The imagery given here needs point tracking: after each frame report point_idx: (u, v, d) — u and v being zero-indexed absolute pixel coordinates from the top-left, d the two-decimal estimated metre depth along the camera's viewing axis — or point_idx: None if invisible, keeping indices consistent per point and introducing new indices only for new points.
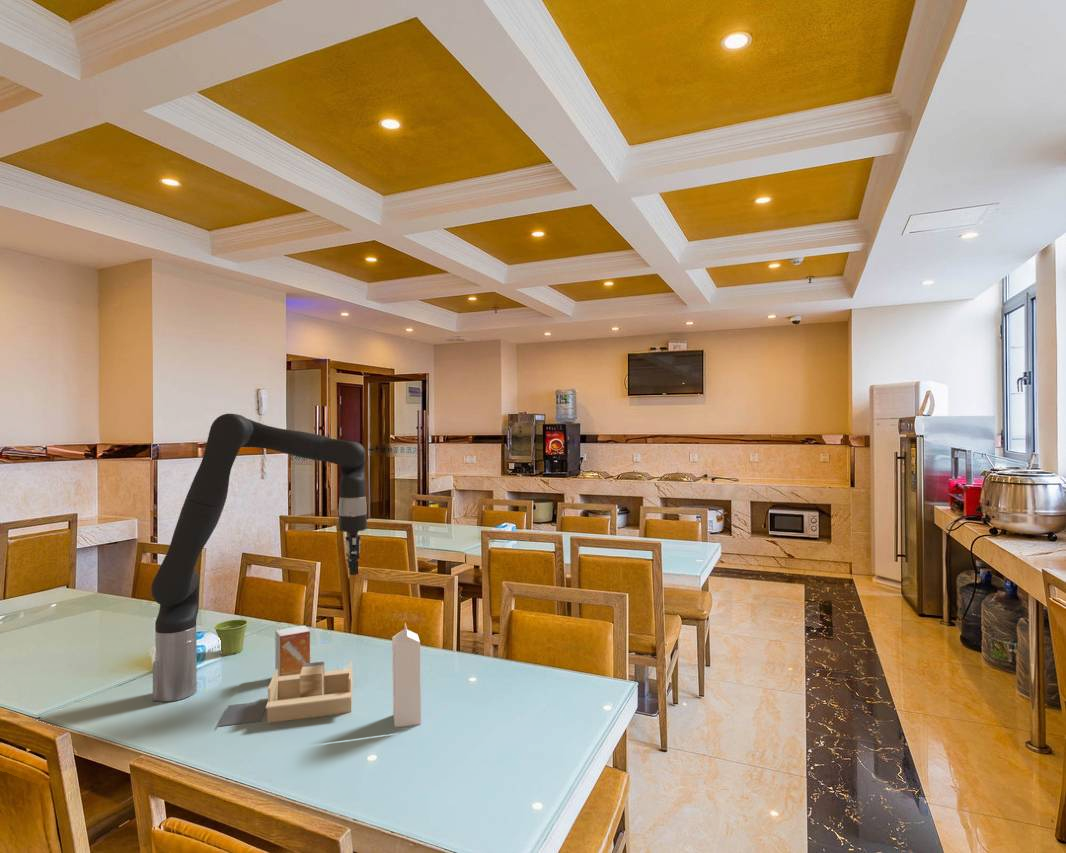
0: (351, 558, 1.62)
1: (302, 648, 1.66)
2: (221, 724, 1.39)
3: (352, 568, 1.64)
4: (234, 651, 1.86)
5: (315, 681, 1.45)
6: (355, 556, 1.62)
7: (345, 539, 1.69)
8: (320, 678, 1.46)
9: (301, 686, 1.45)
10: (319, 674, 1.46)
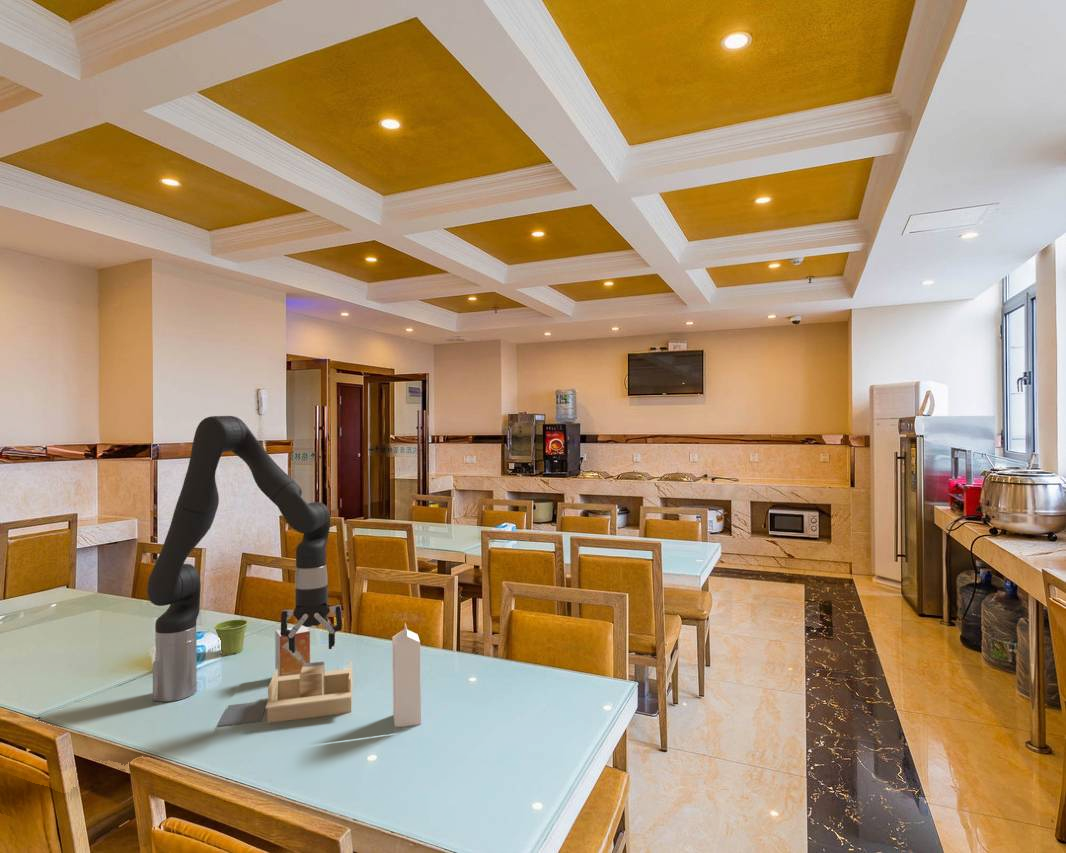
0: (341, 627, 1.50)
1: (302, 648, 1.66)
2: (221, 724, 1.39)
3: None
4: (234, 651, 1.86)
5: (315, 681, 1.45)
6: None
7: (305, 617, 1.47)
8: (320, 678, 1.46)
9: (301, 686, 1.45)
10: (319, 674, 1.46)
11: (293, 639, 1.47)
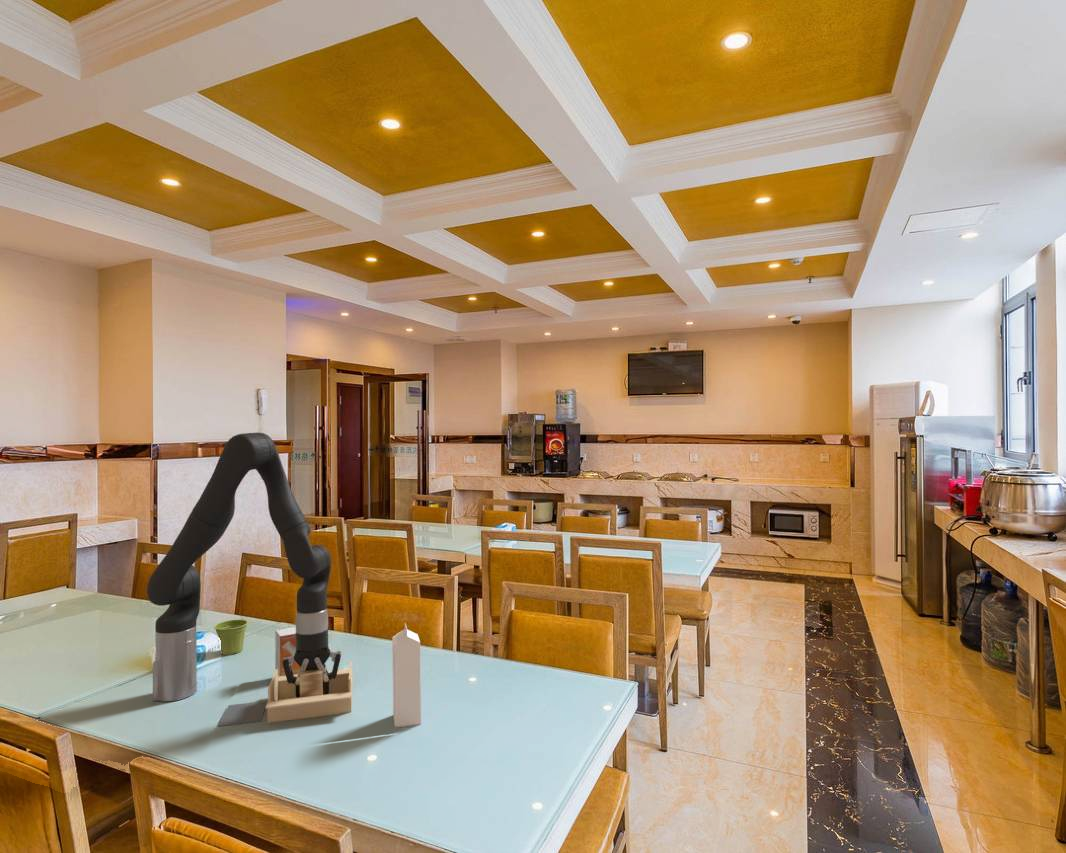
0: None
1: None
2: (221, 724, 1.39)
3: (328, 688, 1.50)
4: (234, 651, 1.86)
5: (315, 681, 1.45)
6: None
7: (306, 661, 1.47)
8: (320, 678, 1.46)
9: (301, 686, 1.45)
10: (319, 674, 1.46)
11: None
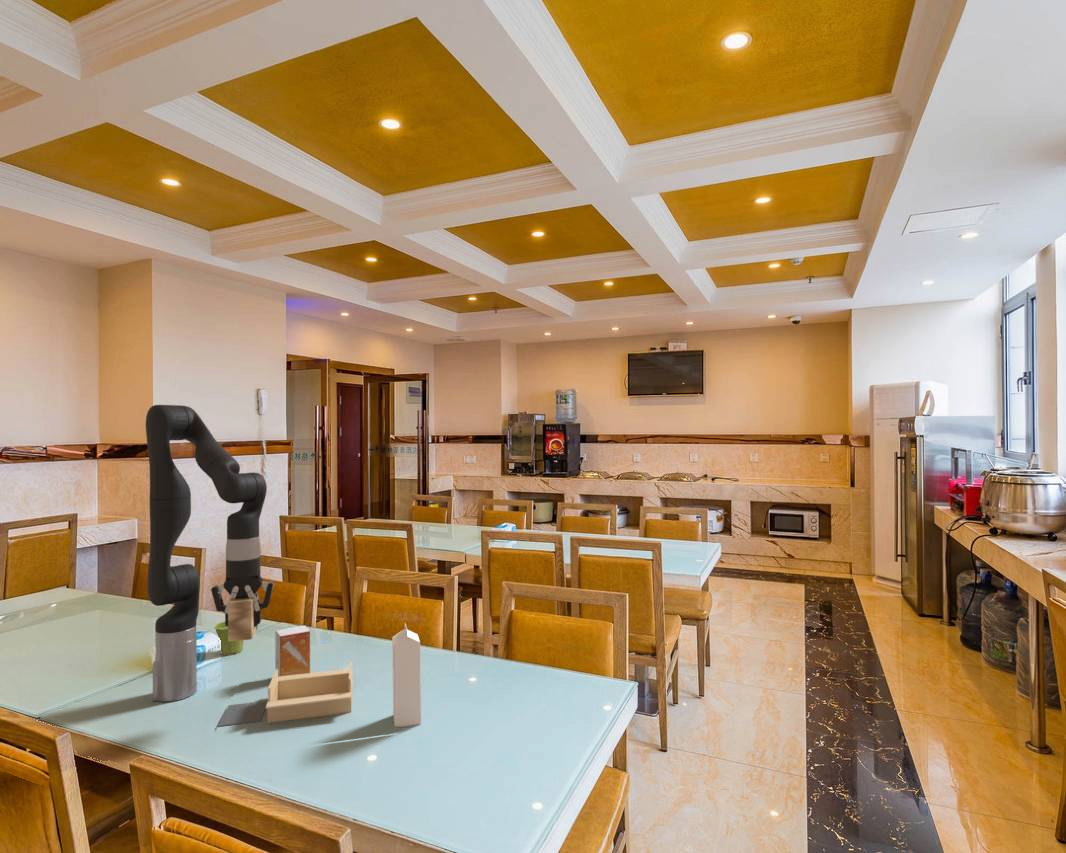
0: (267, 605, 1.46)
1: (302, 648, 1.66)
2: (221, 724, 1.39)
3: (260, 618, 1.46)
4: (234, 651, 1.86)
5: (244, 609, 1.42)
6: None
7: (236, 589, 1.43)
8: (249, 606, 1.42)
9: (229, 613, 1.41)
10: (249, 602, 1.42)
11: None
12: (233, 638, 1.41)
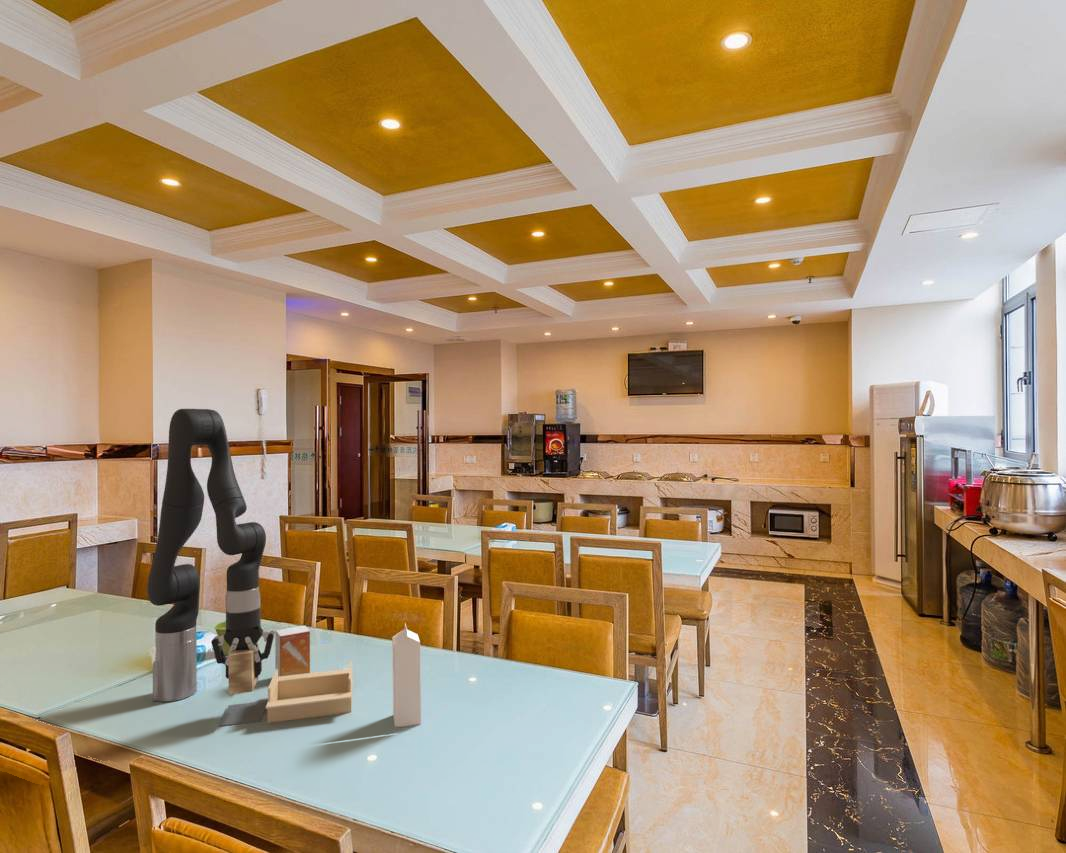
0: None
1: (302, 648, 1.66)
2: (221, 724, 1.39)
3: (260, 668, 1.46)
4: None
5: (245, 661, 1.41)
6: None
7: (236, 641, 1.43)
8: (250, 658, 1.42)
9: (230, 666, 1.41)
10: (249, 654, 1.42)
11: None
12: (234, 691, 1.41)
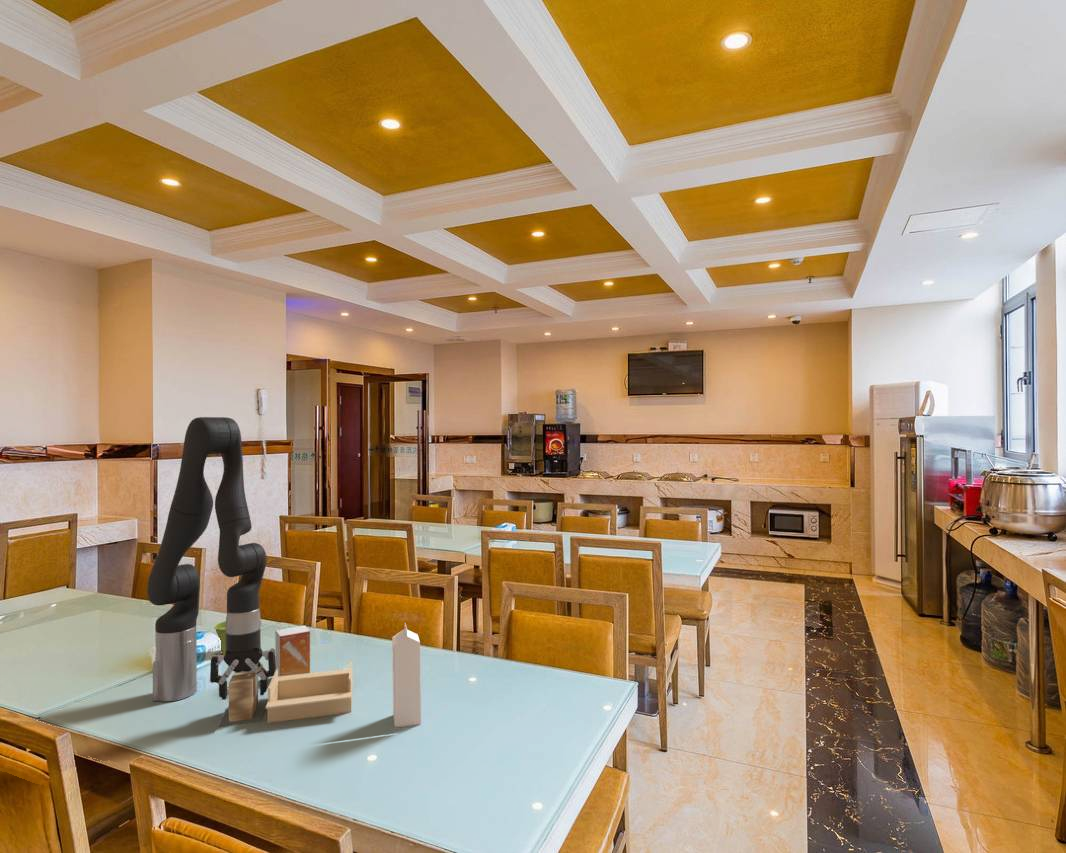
0: (274, 673, 1.46)
1: (302, 648, 1.66)
2: (221, 724, 1.39)
3: (266, 686, 1.46)
4: None
5: (245, 688, 1.41)
6: (274, 670, 1.47)
7: (236, 662, 1.43)
8: (250, 685, 1.42)
9: (230, 693, 1.41)
10: (249, 681, 1.42)
11: (223, 686, 1.43)
12: (234, 718, 1.41)
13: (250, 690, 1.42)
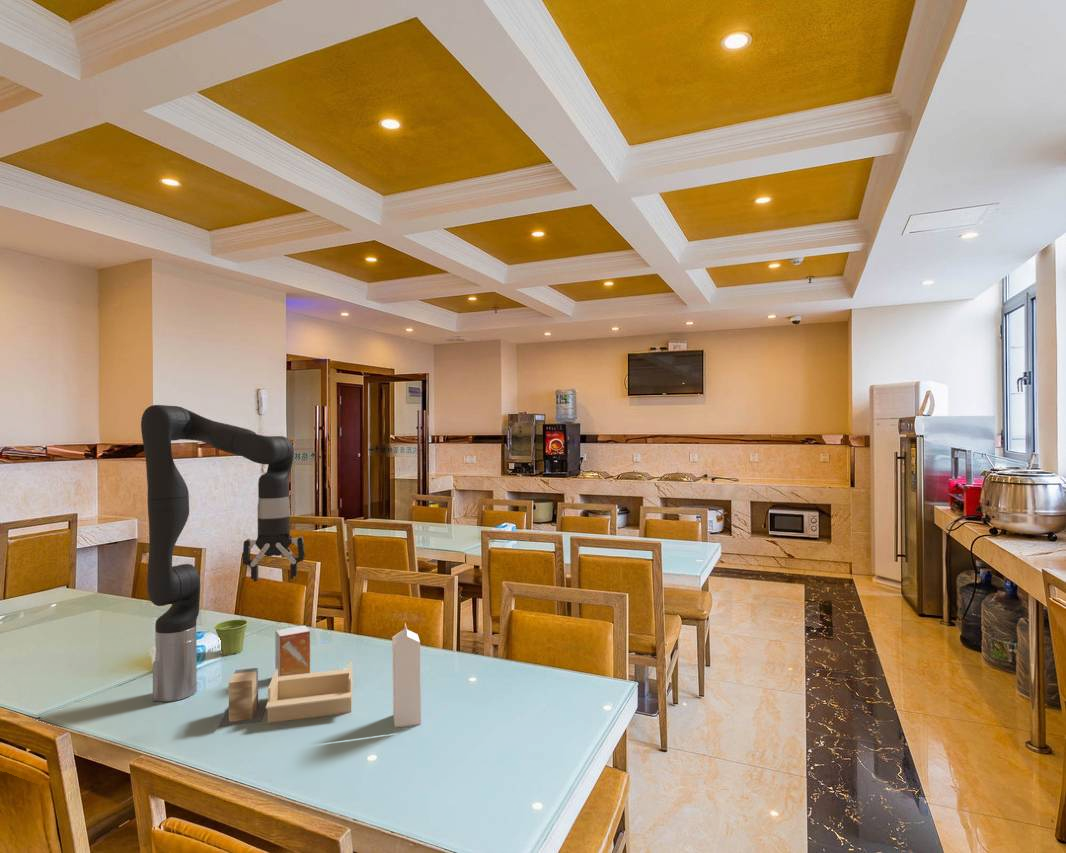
0: (303, 558, 1.53)
1: (302, 648, 1.66)
2: (221, 724, 1.39)
3: (296, 571, 1.53)
4: (234, 651, 1.86)
5: (245, 688, 1.41)
6: (303, 556, 1.54)
7: (267, 546, 1.50)
8: (250, 685, 1.42)
9: (230, 693, 1.41)
10: (249, 681, 1.42)
11: (255, 568, 1.50)
12: (234, 718, 1.41)
13: (250, 690, 1.42)
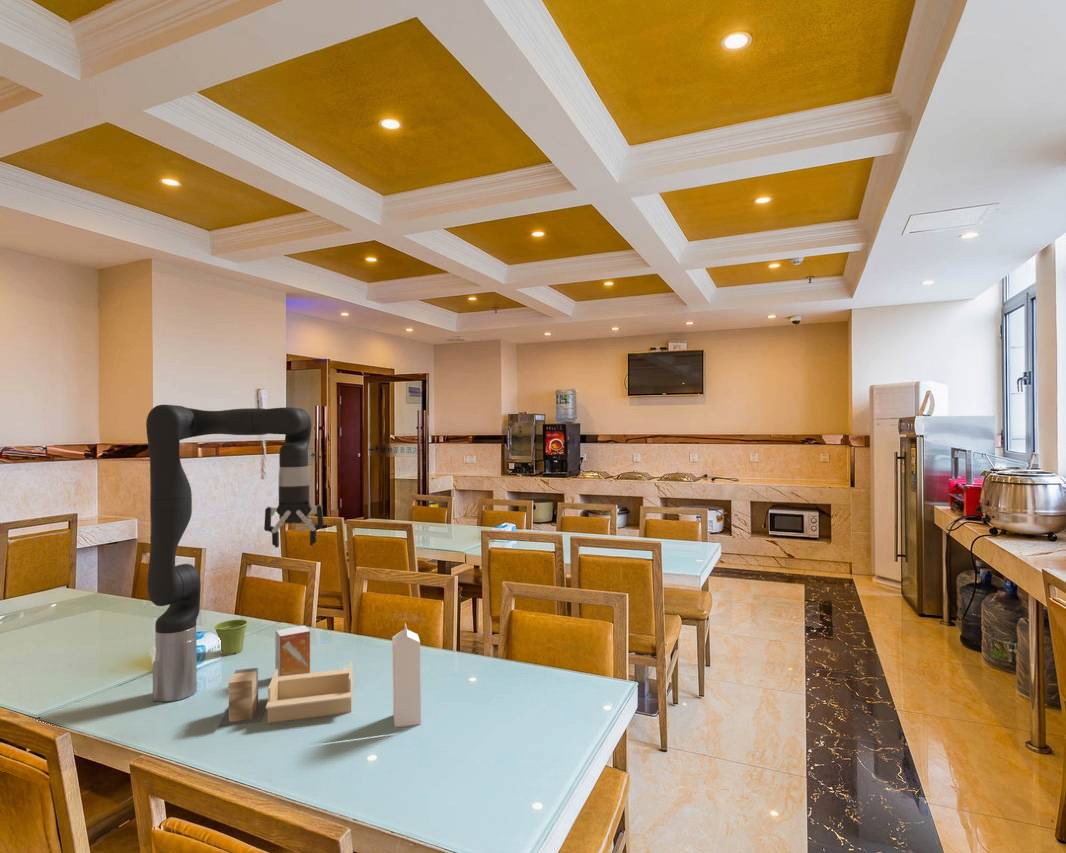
0: (322, 526, 1.59)
1: (302, 648, 1.66)
2: (221, 724, 1.39)
3: (315, 537, 1.59)
4: (234, 651, 1.86)
5: (245, 688, 1.41)
6: None
7: (288, 513, 1.56)
8: (250, 685, 1.42)
9: (230, 693, 1.41)
10: (249, 681, 1.42)
11: (276, 534, 1.56)
12: (234, 718, 1.41)
13: (250, 690, 1.42)
